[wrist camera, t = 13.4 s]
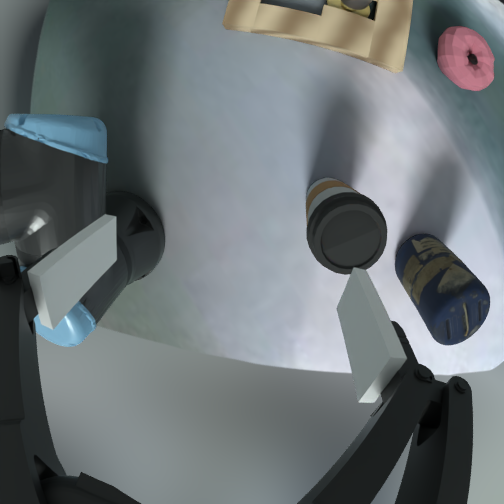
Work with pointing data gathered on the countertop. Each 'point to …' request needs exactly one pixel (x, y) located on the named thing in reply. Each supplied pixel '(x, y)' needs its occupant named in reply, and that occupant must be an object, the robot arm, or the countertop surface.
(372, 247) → the coffee cup
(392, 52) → the keyhole board
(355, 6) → the peg
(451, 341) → the canister
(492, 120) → the countertop surface
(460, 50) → the apple
